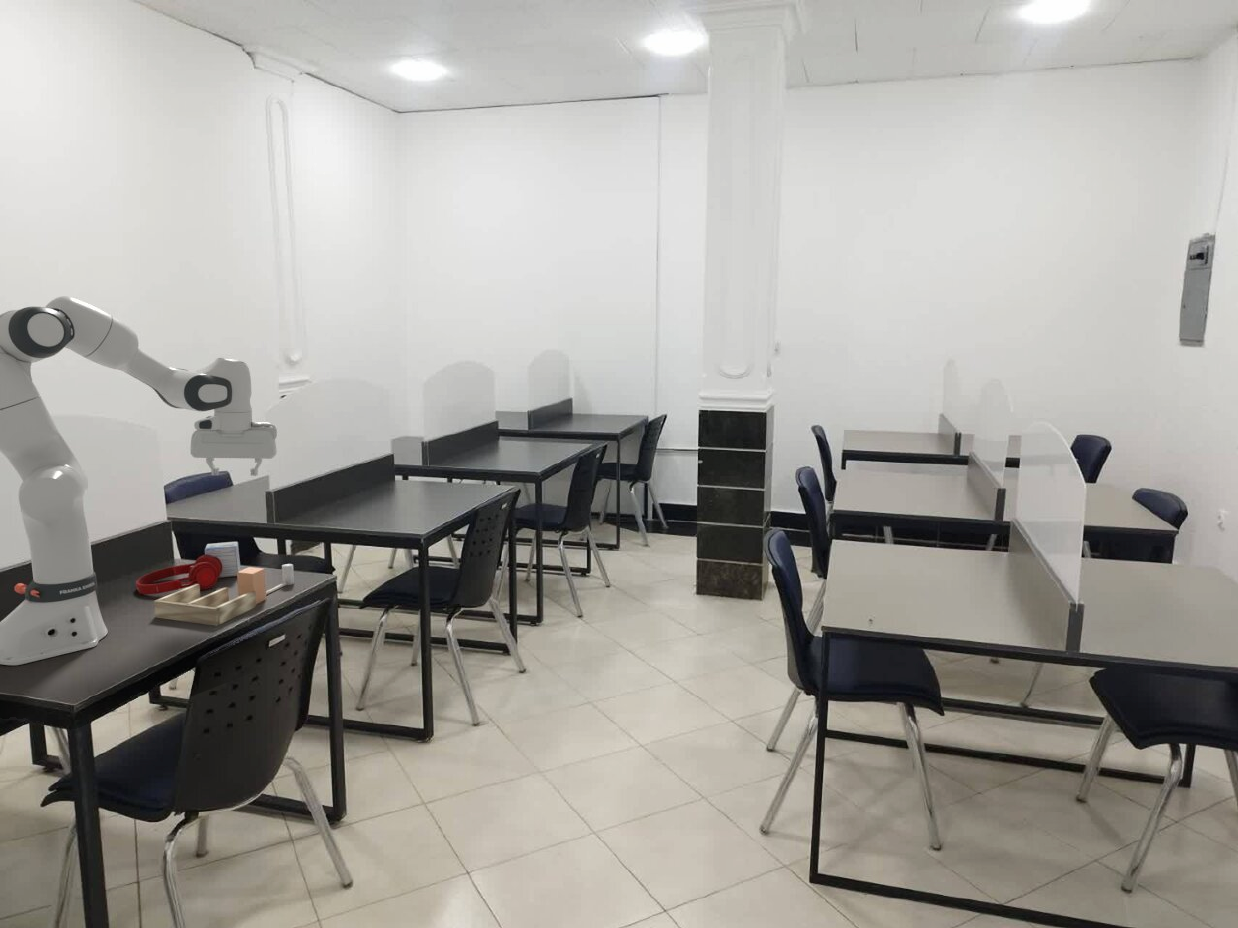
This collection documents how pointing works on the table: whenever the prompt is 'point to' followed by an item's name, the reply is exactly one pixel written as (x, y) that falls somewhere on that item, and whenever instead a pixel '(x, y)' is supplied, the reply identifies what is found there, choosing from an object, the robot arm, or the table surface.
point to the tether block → (261, 581)
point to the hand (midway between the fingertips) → (234, 475)
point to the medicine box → (225, 557)
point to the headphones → (200, 573)
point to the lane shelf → (203, 606)
